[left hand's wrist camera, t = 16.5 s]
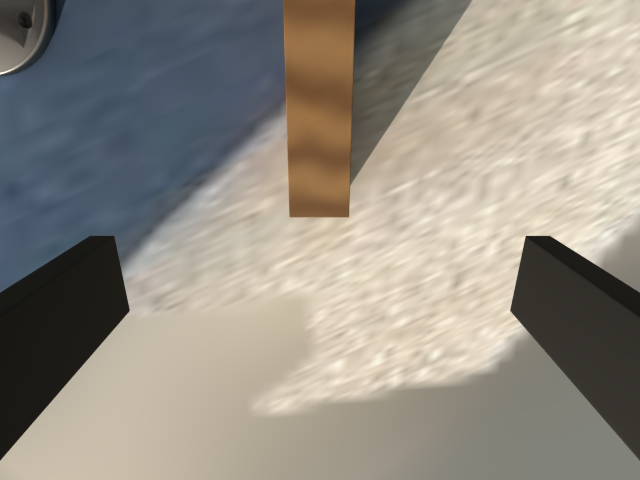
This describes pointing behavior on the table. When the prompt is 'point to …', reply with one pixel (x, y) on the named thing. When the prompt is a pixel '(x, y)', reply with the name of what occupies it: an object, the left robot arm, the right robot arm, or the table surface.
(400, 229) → the table surface
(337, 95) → the post
